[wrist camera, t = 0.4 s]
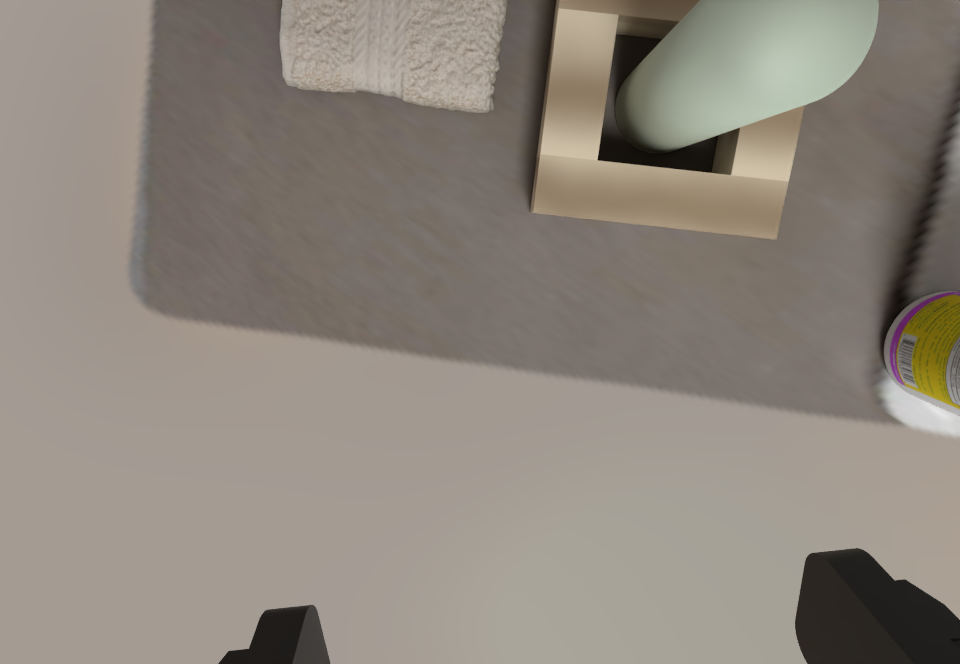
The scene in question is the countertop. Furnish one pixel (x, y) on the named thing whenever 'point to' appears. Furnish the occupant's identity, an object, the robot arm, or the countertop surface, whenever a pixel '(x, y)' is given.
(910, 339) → the supplement bottle
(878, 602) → the robot arm
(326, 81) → the washcloth
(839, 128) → the countertop surface
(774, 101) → the green cylinder
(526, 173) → the countertop surface
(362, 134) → the countertop surface
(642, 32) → the pocket block
